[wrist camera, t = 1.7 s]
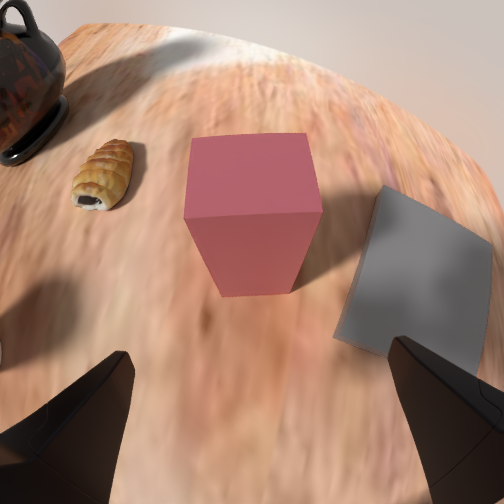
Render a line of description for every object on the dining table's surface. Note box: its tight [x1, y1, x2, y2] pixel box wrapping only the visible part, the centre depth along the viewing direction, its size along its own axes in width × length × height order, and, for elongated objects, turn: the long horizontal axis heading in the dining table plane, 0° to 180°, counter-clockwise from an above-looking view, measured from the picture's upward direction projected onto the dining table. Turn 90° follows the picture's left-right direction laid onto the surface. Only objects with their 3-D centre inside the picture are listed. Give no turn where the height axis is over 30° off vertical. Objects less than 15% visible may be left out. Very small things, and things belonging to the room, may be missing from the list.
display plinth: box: [333, 185, 492, 377], centre depth 22 cm, size 15×15×2 cm
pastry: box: [71, 139, 133, 211], centre depth 27 cm, size 9×7×4 cm
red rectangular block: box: [184, 133, 323, 297], centre depth 18 cm, size 4×6×13 cm
